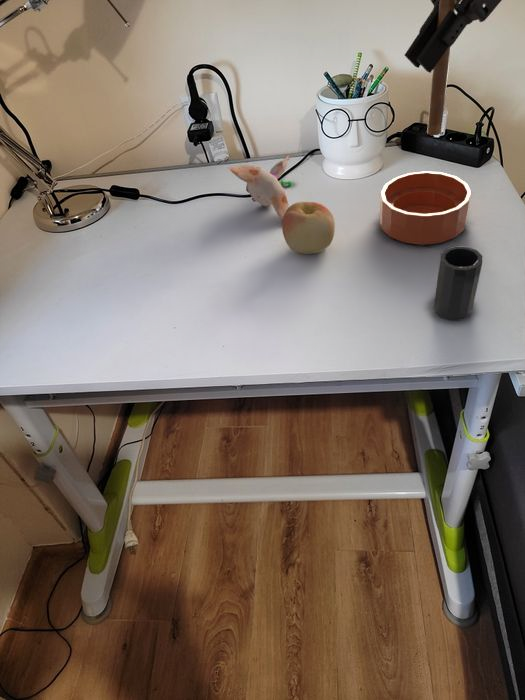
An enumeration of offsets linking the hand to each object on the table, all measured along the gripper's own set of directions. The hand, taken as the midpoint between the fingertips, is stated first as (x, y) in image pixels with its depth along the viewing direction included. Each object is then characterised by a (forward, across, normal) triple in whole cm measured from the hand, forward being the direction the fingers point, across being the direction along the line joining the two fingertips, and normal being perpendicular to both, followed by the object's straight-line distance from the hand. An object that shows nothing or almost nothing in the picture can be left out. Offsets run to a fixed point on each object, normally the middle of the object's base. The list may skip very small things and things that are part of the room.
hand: (417, 63), depth 68 cm
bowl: (+16, +1, -22) cm, 28 cm away
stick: (+5, 0, -10) cm, 11 cm away
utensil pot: (+23, -19, -16) cm, 34 cm away
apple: (+30, +6, -8) cm, 32 cm away
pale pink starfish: (+30, +24, -9) cm, 39 cm away
